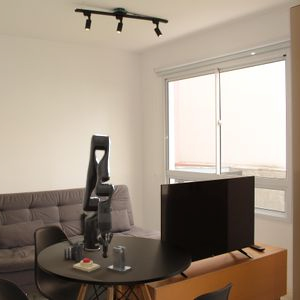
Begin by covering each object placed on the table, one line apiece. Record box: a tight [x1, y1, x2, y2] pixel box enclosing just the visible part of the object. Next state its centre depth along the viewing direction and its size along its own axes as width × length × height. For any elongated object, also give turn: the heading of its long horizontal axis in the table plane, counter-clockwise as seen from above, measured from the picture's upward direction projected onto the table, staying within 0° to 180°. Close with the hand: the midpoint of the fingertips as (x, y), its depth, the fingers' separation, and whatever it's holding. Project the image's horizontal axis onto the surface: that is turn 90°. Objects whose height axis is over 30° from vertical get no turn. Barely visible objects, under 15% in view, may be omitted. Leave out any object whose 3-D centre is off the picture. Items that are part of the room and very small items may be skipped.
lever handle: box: [101, 248, 123, 259], centre depth 206 cm, size 13×3×3 cm, turn 49°
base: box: [106, 245, 132, 273], centre depth 203 cm, size 10×8×12 cm
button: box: [82, 257, 91, 263], centre depth 204 cm, size 4×4×2 cm
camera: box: [63, 240, 84, 262], centre depth 222 cm, size 14×11×10 cm
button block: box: [72, 259, 101, 273], centre depth 204 cm, size 11×9×4 cm
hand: (105, 252), depth 209 cm, fingers closed
